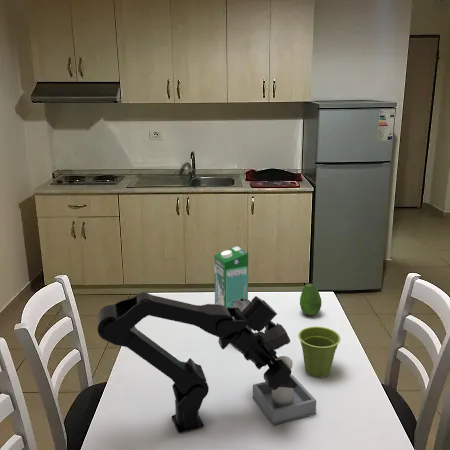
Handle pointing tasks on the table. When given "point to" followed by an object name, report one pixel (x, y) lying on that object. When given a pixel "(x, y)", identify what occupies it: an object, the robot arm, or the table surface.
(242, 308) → the beverage cup
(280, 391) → the salt shaker
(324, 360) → the plant pot
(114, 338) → the robot arm
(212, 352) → the table surface
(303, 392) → the box
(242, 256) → the milk carton
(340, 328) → the table surface
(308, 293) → the avocado
